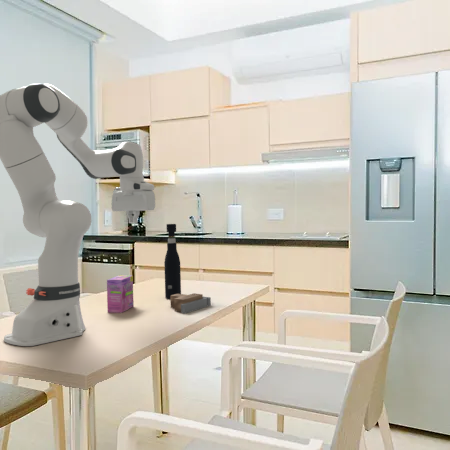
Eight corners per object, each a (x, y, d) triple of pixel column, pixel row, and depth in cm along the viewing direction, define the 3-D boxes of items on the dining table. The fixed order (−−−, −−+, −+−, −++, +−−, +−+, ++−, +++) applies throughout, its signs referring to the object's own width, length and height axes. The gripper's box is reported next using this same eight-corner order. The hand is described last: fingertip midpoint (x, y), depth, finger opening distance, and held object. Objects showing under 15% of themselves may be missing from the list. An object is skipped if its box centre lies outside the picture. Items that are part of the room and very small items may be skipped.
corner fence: (184, 313, 154) (184, 304, 154) (164, 310, 160) (163, 302, 160) (210, 305, 167) (210, 297, 167) (190, 302, 172) (190, 295, 172)
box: (122, 313, 158) (121, 279, 157) (107, 312, 159) (106, 279, 158) (134, 306, 168) (133, 275, 167) (119, 306, 169) (118, 275, 168)
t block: (164, 309, 161) (163, 297, 161) (184, 303, 170) (183, 292, 170) (183, 312, 156) (182, 299, 156) (202, 306, 165) (202, 294, 165)
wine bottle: (179, 295, 187) (177, 223, 186) (182, 298, 181) (180, 223, 180) (164, 296, 185) (161, 224, 184) (167, 299, 179) (164, 224, 178)
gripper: (106, 187, 172) (108, 223, 173) (145, 184, 160) (146, 223, 161) (119, 187, 177) (120, 222, 178) (157, 185, 166) (158, 222, 166)
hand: (133, 223), depth 169 cm, fingers closed
